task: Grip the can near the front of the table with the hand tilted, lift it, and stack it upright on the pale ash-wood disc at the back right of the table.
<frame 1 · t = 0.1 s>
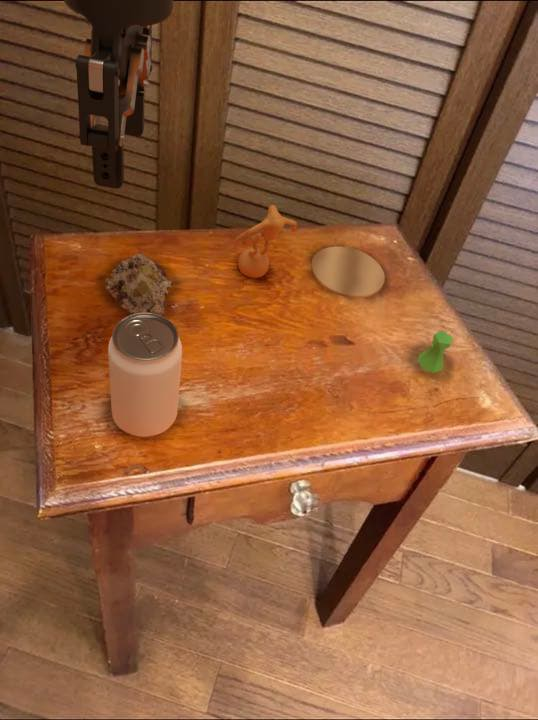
hand: (120, 157, 49), 22 cm above the table, tool pointing down, fingers open, 8 cm apart
figurine: (254, 281, 76), on the table
can: (144, 417, 60), on the table
game piece: (426, 369, 71), on the table
ash disc: (345, 278, 79), on the table
mineral rock: (140, 298, 71), on the table
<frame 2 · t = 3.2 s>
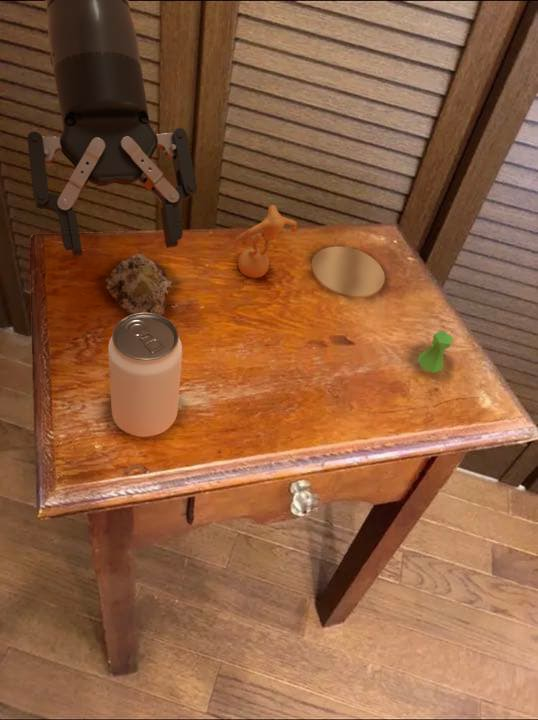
hand: (126, 250, 54), 15 cm above the table, tool tilted 45°, fingers open, 8 cm apart
nothing on the table moved.
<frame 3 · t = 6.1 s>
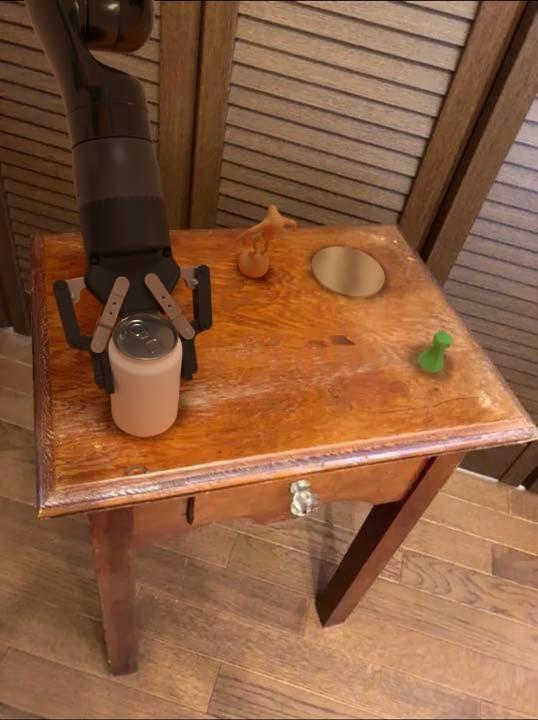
hand: (149, 386, 54), 7 cm above the table, tool tilted 45°, fingers closed on can, 6 cm apart
can: (144, 417, 60), on the table, touching gripper
everything else where it was.
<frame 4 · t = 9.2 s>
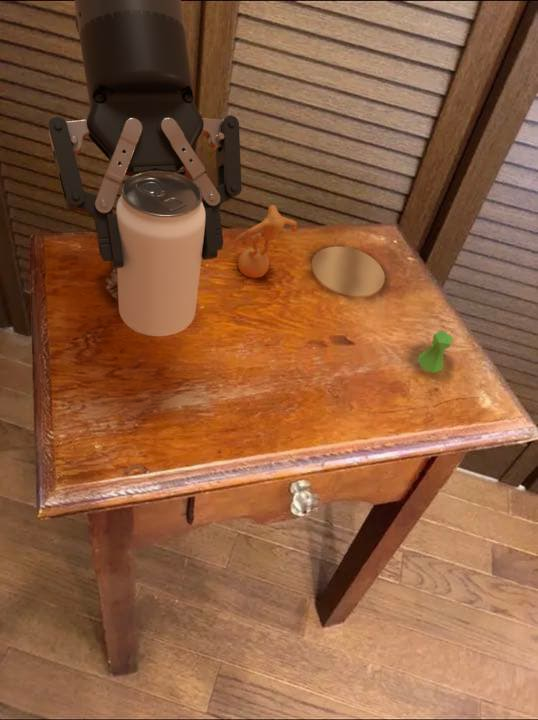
hand: (165, 262, 44), 21 cm above the table, tool tilted 45°, fingers closed on can, 6 cm apart
can: (157, 313, 51), point 14 cm above the table, touching gripper
everything else where it was.
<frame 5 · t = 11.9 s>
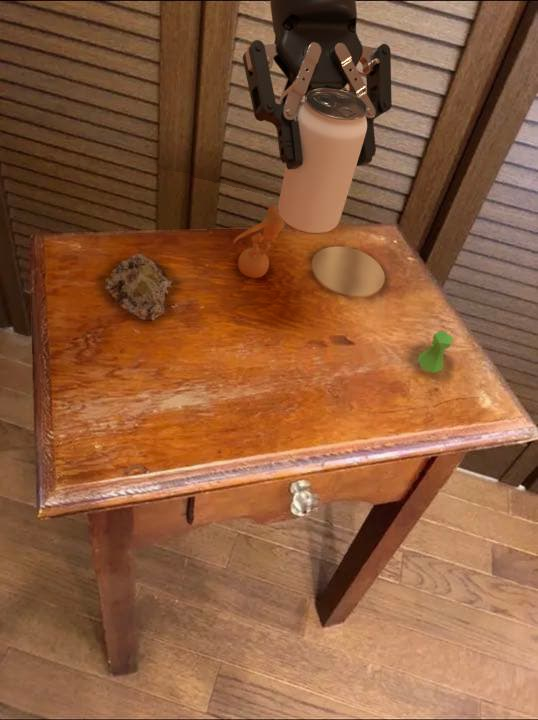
hand: (330, 165, 54), 22 cm above the table, tool tilted 45°, fingers closed on can, 6 cm apart
can: (307, 218, 60), point 15 cm above the table, touching gripper
everything else where it was.
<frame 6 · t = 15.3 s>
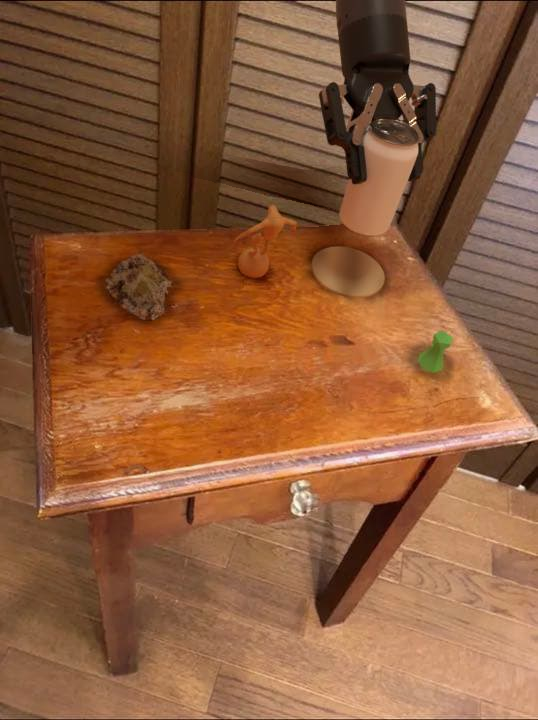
hand: (387, 181, 67), 16 cm above the table, tool tilted 45°, fingers closed on can, 6 cm apart
can: (363, 223, 73), point 9 cm above the table, touching gripper
everything else where it was.
when the fingers open (8 cm above the table, at t = 17.9 s): can stays where it is, resting on ash disc.
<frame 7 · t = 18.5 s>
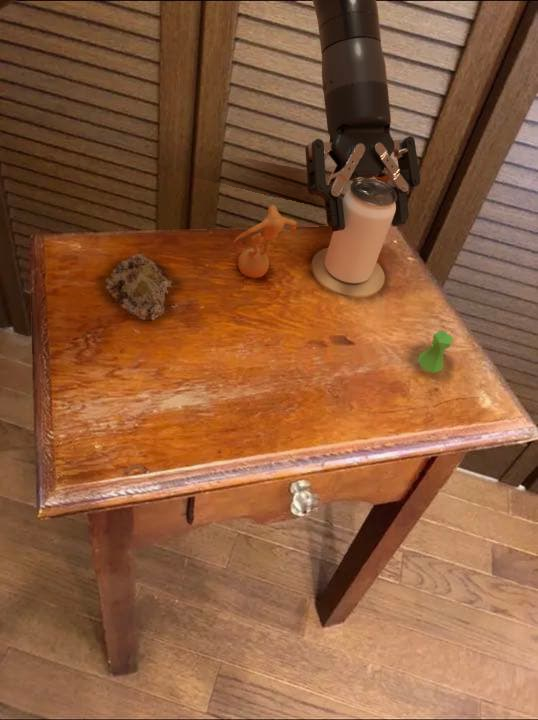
hand: (369, 227, 72), 9 cm above the table, tool tilted 45°, fingers open, 8 cm apart
can: (347, 270, 79), point 1 cm above the table, touching ash disc
ash disc: (345, 278, 79), on the table, touching can
everything else where it was.
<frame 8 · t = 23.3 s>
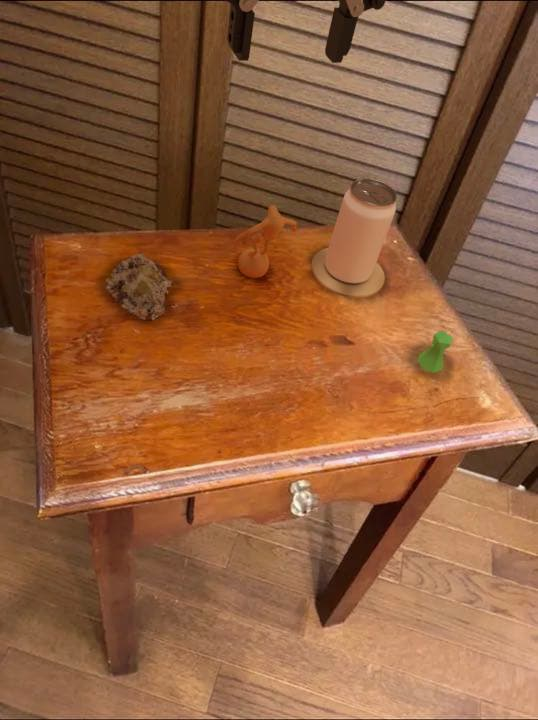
hand: (288, 58, 50), 30 cm above the table, tool pointing down, fingers open, 8 cm apart
nothing on the table moved.
at the end: can 0.1 cm off-centre on the ash disc, point 1.3 cm above the ash disc's base; can tilted 0°; the gripper is holding nothing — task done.
